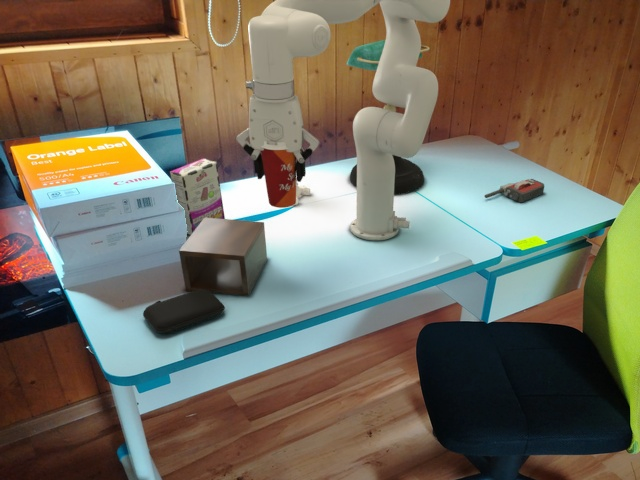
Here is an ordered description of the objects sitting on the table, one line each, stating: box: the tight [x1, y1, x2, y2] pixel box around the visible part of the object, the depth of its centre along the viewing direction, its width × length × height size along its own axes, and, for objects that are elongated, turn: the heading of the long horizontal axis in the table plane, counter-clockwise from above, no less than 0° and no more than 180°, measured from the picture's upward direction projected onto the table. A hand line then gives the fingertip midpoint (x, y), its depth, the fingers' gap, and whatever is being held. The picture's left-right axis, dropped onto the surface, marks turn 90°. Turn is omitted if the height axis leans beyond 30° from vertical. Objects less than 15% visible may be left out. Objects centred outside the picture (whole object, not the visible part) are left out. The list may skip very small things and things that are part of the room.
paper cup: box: [261, 141, 297, 209], centre depth 127 cm, size 8×8×14 cm
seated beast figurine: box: [293, 177, 311, 206], centre depth 175 cm, size 10×9×12 cm
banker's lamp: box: [346, 39, 430, 196], centre depth 181 cm, size 26×23×40 cm
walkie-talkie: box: [484, 178, 545, 203], centre depth 186 cm, size 9×4×20 cm
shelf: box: [178, 218, 268, 297], centre depth 140 cm, size 14×16×10 cm
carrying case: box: [142, 289, 226, 336], centre depth 129 cm, size 11×3×15 cm
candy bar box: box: [169, 157, 226, 236], centre depth 157 cm, size 11×5×16 cm, turn 148°
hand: (280, 177), depth 128 cm, fingers closed on paper cup, 7 cm apart
